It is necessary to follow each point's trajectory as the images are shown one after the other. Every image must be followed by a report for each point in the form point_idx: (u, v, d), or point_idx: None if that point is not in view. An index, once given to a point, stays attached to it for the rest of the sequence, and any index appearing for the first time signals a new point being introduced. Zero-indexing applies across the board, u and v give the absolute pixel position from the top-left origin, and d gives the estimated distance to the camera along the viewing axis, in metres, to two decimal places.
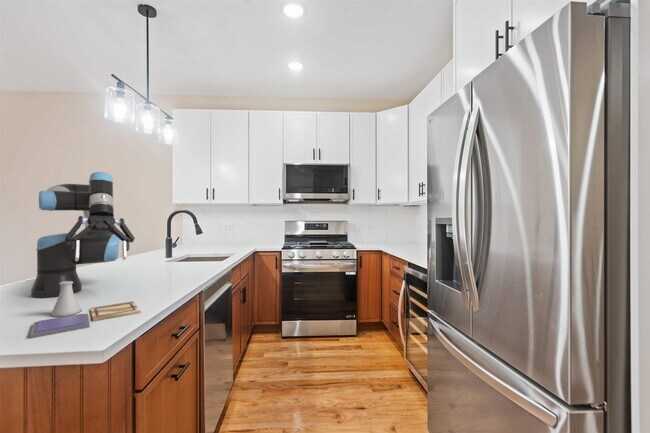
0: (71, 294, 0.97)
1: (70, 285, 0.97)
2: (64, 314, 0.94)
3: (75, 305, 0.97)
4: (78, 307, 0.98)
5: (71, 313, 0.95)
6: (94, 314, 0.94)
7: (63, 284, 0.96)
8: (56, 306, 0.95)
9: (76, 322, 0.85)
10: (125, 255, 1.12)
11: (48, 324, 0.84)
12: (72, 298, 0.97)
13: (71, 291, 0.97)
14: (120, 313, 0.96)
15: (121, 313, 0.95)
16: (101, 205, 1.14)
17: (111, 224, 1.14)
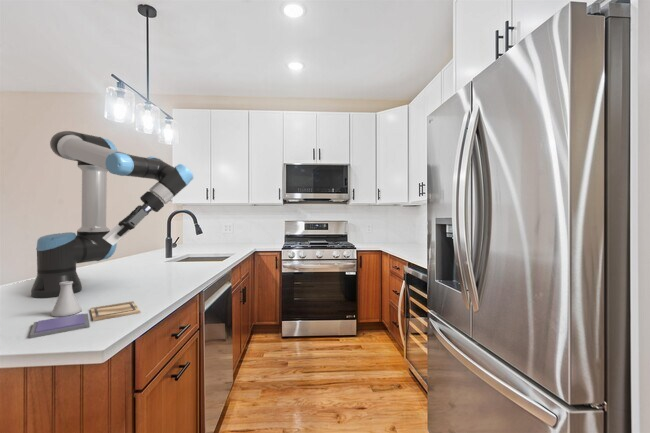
0: (71, 294, 0.97)
1: (70, 285, 0.97)
2: (64, 314, 0.94)
3: (75, 305, 0.97)
4: (78, 307, 0.98)
5: (71, 313, 0.95)
6: (94, 314, 0.94)
7: (63, 284, 0.96)
8: (56, 306, 0.95)
9: (76, 322, 0.85)
10: None
11: (48, 324, 0.84)
12: (72, 298, 0.97)
13: (71, 291, 0.97)
14: (120, 313, 0.96)
15: (121, 313, 0.95)
16: None
17: None
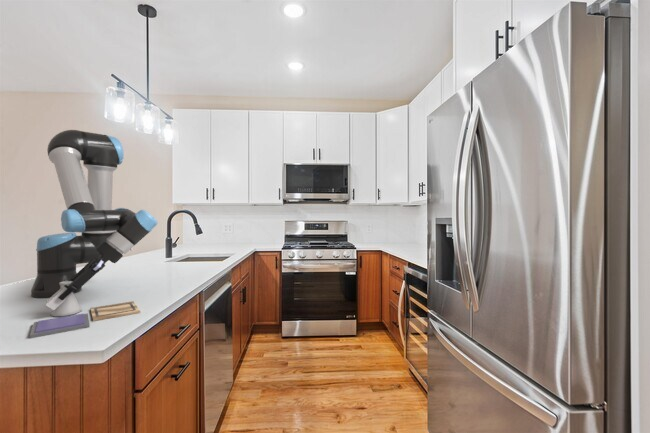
0: (71, 294, 0.97)
1: None
2: (64, 314, 0.94)
3: (75, 304, 0.97)
4: (78, 307, 0.98)
5: (71, 313, 0.95)
6: (94, 314, 0.94)
7: (63, 284, 0.96)
8: None
9: (76, 322, 0.85)
10: None
11: (48, 324, 0.84)
12: (72, 297, 0.97)
13: None
14: (120, 313, 0.96)
15: (121, 313, 0.95)
16: (120, 258, 1.06)
17: None
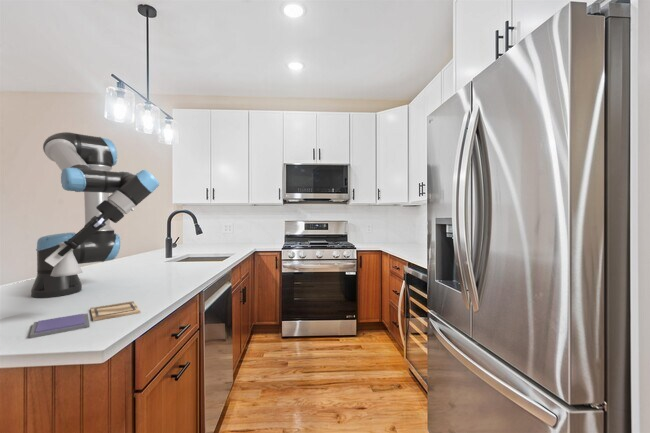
0: (71, 254, 0.94)
1: None
2: (64, 274, 0.91)
3: (75, 265, 0.94)
4: (79, 268, 0.95)
5: (72, 273, 0.93)
6: (94, 314, 0.94)
7: (62, 244, 0.93)
8: (56, 266, 0.92)
9: (76, 322, 0.85)
10: None
11: (48, 324, 0.84)
12: (72, 258, 0.94)
13: (71, 251, 0.94)
14: (120, 313, 0.96)
15: (121, 313, 0.95)
16: None
17: None
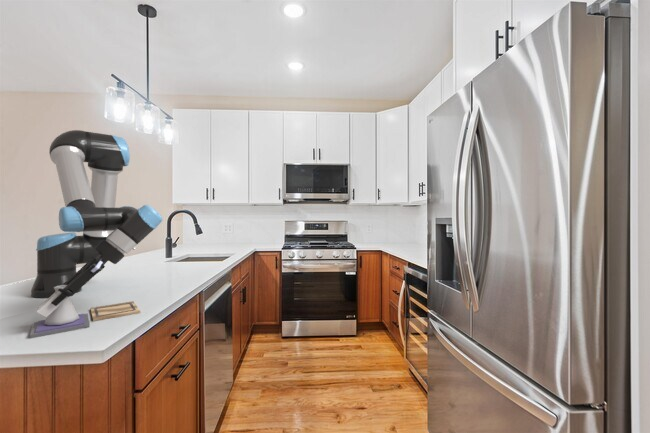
0: (67, 299, 0.86)
1: None
2: (59, 322, 0.83)
3: (72, 311, 0.87)
4: (75, 314, 0.88)
5: (67, 321, 0.85)
6: (94, 314, 0.94)
7: (58, 288, 0.85)
8: None
9: (76, 322, 0.85)
10: None
11: None
12: (68, 304, 0.86)
13: None
14: (120, 313, 0.96)
15: (121, 313, 0.95)
16: None
17: None
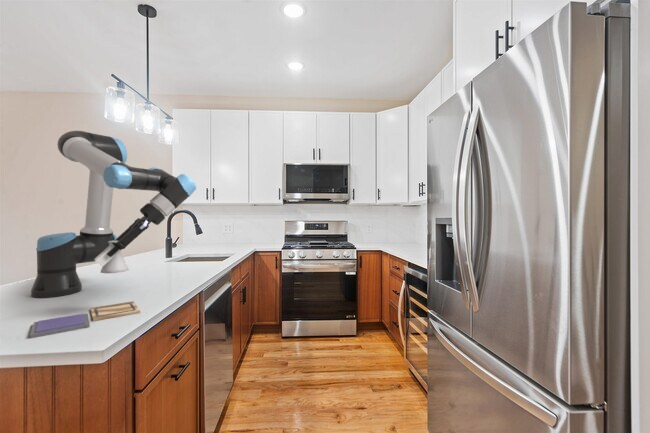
0: (119, 252, 0.99)
1: None
2: (114, 271, 0.96)
3: (123, 263, 0.99)
4: (125, 266, 1.00)
5: (120, 271, 0.97)
6: (94, 314, 0.94)
7: (112, 242, 0.98)
8: (106, 263, 0.97)
9: (76, 322, 0.85)
10: None
11: (48, 324, 0.84)
12: (120, 256, 0.99)
13: None
14: (120, 313, 0.96)
15: (121, 313, 0.95)
16: None
17: None
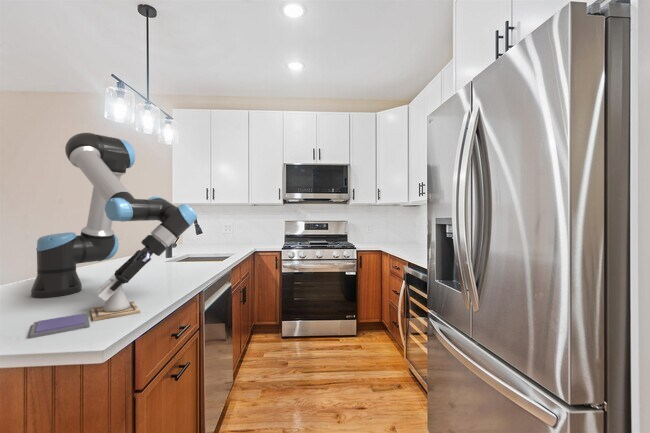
0: (121, 290, 0.99)
1: None
2: (116, 309, 0.97)
3: (125, 300, 1.00)
4: (127, 303, 1.01)
5: (122, 308, 0.98)
6: (94, 314, 0.94)
7: None
8: (107, 301, 0.97)
9: (76, 322, 0.85)
10: None
11: (48, 324, 0.84)
12: (122, 293, 0.99)
13: (121, 287, 1.00)
14: (120, 313, 0.96)
15: (121, 313, 0.95)
16: None
17: None
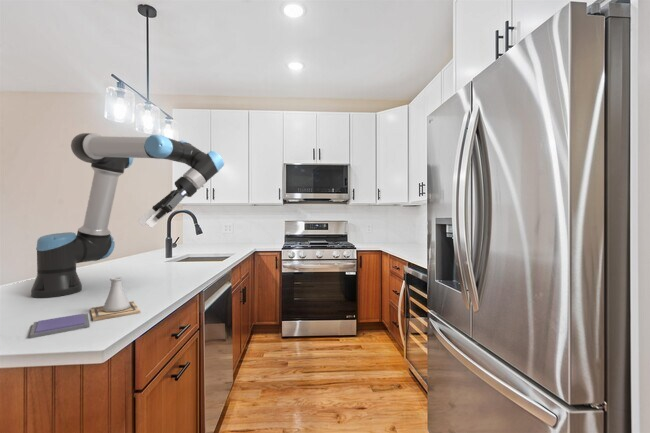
0: (121, 290, 0.99)
1: (120, 281, 1.00)
2: (116, 309, 0.97)
3: (125, 300, 1.00)
4: (127, 303, 1.01)
5: (122, 308, 0.98)
6: (94, 314, 0.94)
7: (114, 280, 0.98)
8: (107, 301, 0.97)
9: (76, 322, 0.85)
10: (144, 225, 1.12)
11: (48, 324, 0.84)
12: (122, 293, 0.99)
13: (121, 287, 1.00)
14: (120, 313, 0.96)
15: (121, 313, 0.95)
16: (195, 192, 1.16)
17: None
